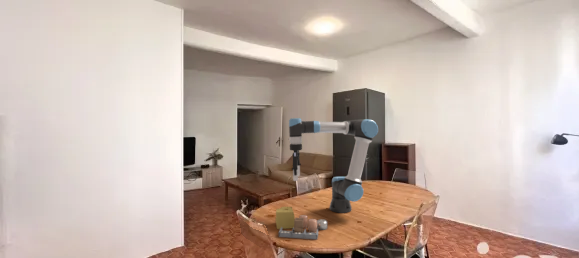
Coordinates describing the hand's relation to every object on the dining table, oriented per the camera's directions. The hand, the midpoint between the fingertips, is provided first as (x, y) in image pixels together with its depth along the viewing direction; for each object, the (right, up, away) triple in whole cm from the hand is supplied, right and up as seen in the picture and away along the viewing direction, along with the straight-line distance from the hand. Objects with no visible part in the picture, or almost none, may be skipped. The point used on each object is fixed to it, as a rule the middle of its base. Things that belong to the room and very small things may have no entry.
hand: (296, 178), depth 162 cm
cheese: (-7, -28, -4) cm, 29 cm away
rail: (0, -28, -18) cm, 33 cm away
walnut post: (+1, -27, -17) cm, 32 cm away
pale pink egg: (+9, -28, -12) cm, 31 cm away
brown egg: (+4, -28, -6) cm, 28 cm away
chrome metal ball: (+14, -28, -8) cm, 32 cm away
